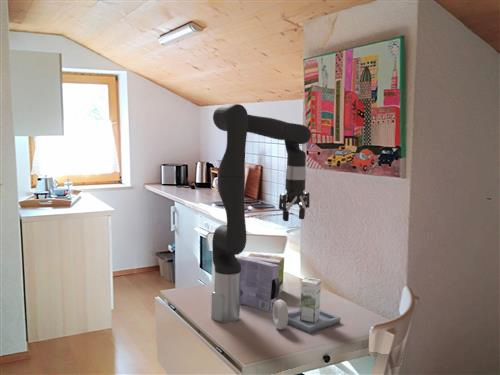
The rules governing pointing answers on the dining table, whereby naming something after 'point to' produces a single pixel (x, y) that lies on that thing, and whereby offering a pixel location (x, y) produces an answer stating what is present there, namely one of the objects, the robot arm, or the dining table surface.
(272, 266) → the cake pan box
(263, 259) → the tea box
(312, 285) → the syrup box
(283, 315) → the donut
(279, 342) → the dining table surface
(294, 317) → the tray
